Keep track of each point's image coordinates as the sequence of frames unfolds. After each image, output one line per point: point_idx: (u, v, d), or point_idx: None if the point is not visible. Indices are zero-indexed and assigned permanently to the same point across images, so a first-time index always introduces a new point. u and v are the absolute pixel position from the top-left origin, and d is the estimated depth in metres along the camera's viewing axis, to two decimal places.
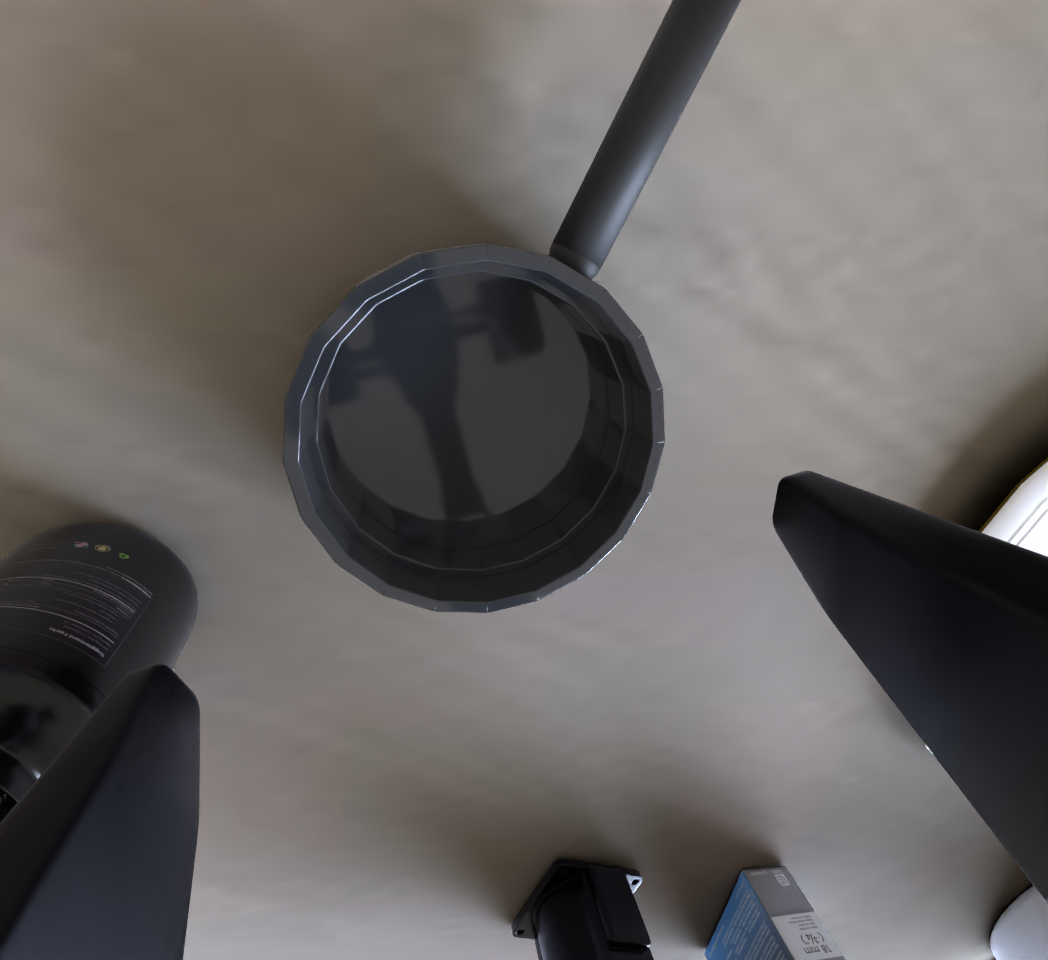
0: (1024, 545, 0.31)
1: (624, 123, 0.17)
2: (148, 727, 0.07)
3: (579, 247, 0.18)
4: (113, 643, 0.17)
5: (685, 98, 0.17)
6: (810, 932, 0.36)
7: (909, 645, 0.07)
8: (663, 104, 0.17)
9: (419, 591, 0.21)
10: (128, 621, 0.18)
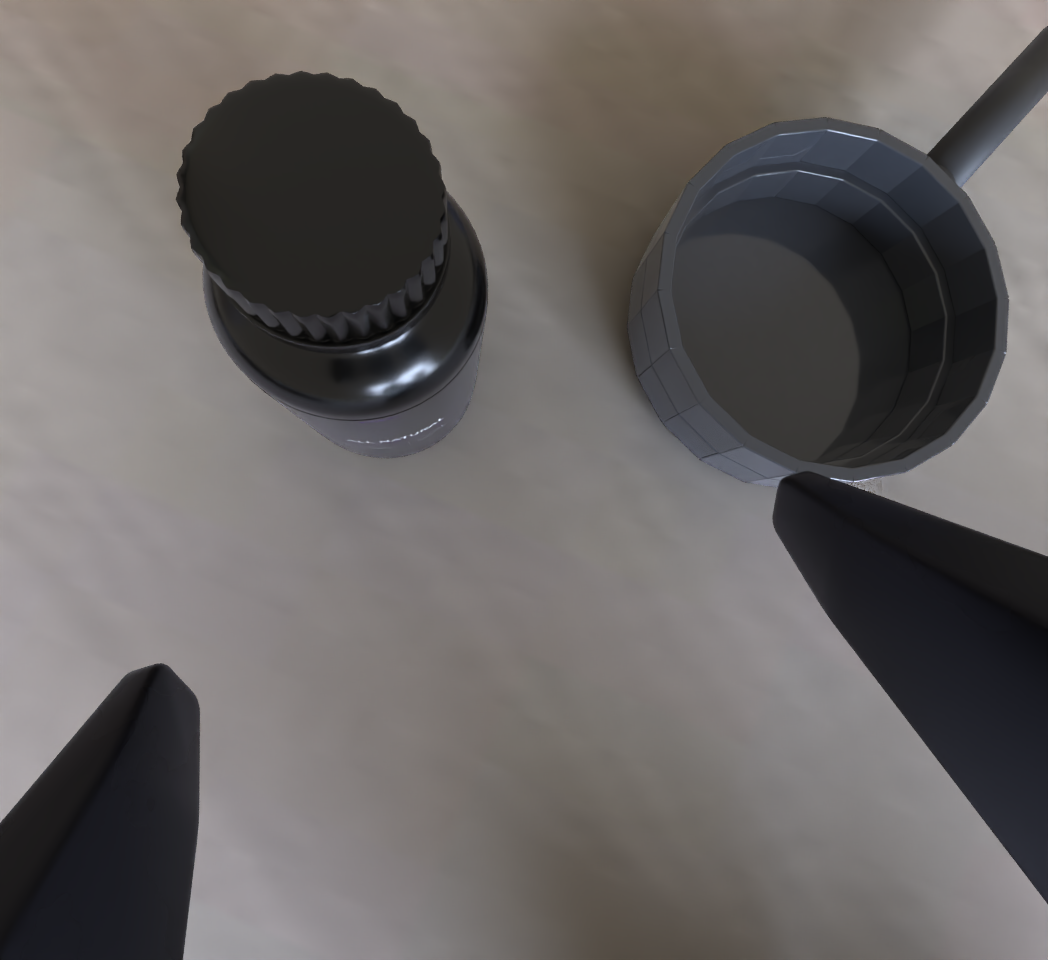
0: None
1: (988, 99, 0.22)
2: (148, 727, 0.07)
3: (946, 164, 0.21)
4: None
5: (1036, 96, 0.22)
6: None
7: (909, 645, 0.07)
8: (1023, 91, 0.22)
9: (731, 421, 0.19)
10: None
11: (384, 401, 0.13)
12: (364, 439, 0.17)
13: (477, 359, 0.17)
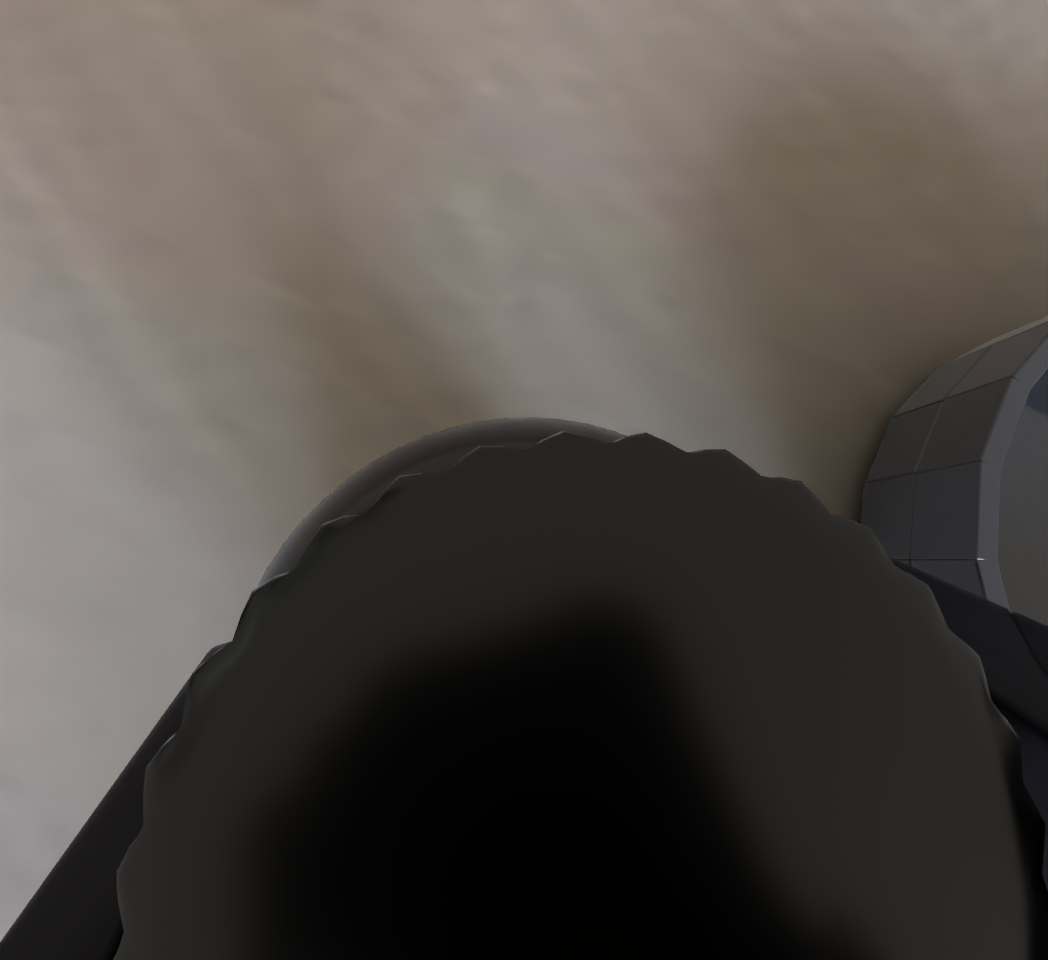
0: None
1: None
2: None
3: None
4: None
5: None
6: None
7: None
8: None
9: None
10: None
11: None
12: None
13: None
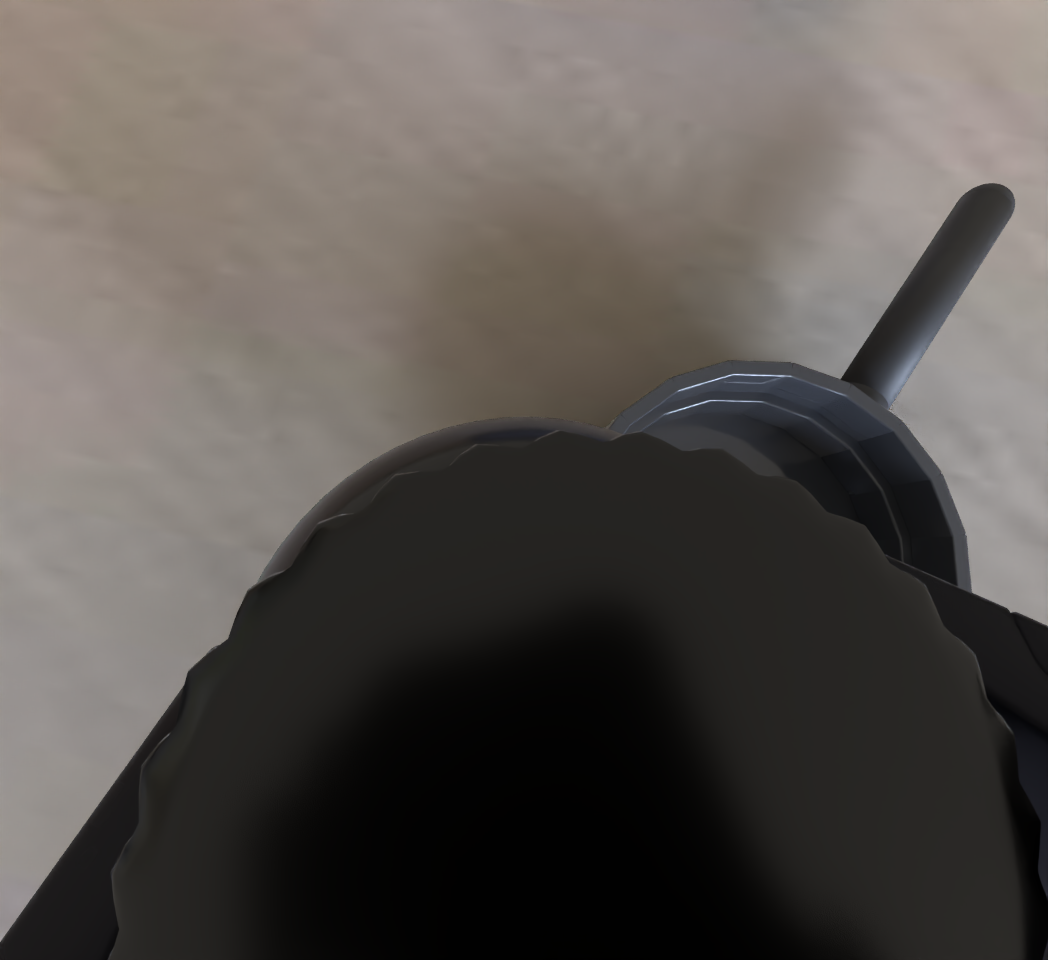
0: None
1: (911, 296, 0.20)
2: None
3: (873, 383, 0.19)
4: None
5: (965, 284, 0.20)
6: None
7: None
8: (948, 284, 0.19)
9: None
10: None
11: None
12: None
13: None
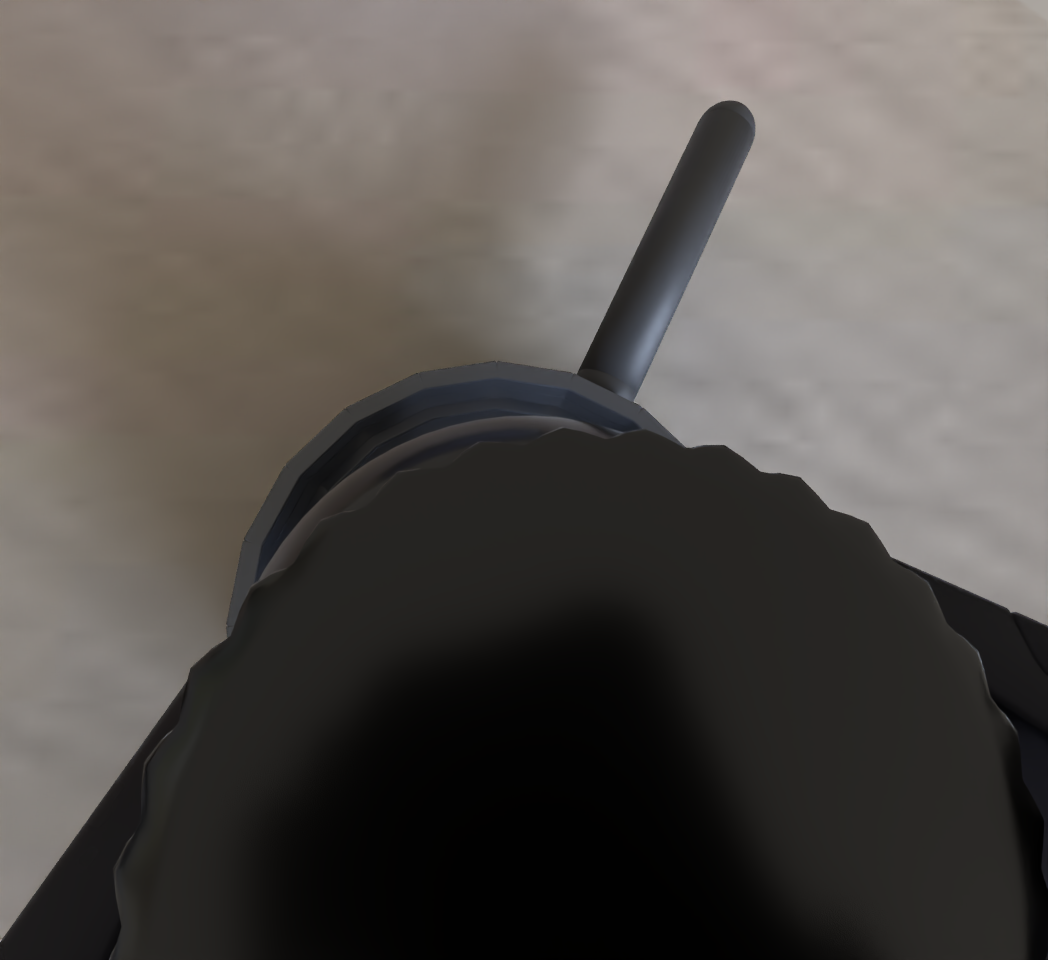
0: None
1: (644, 252, 0.16)
2: None
3: (606, 367, 0.16)
4: None
5: (705, 227, 0.16)
6: None
7: None
8: (682, 230, 0.16)
9: None
10: None
11: None
12: None
13: None
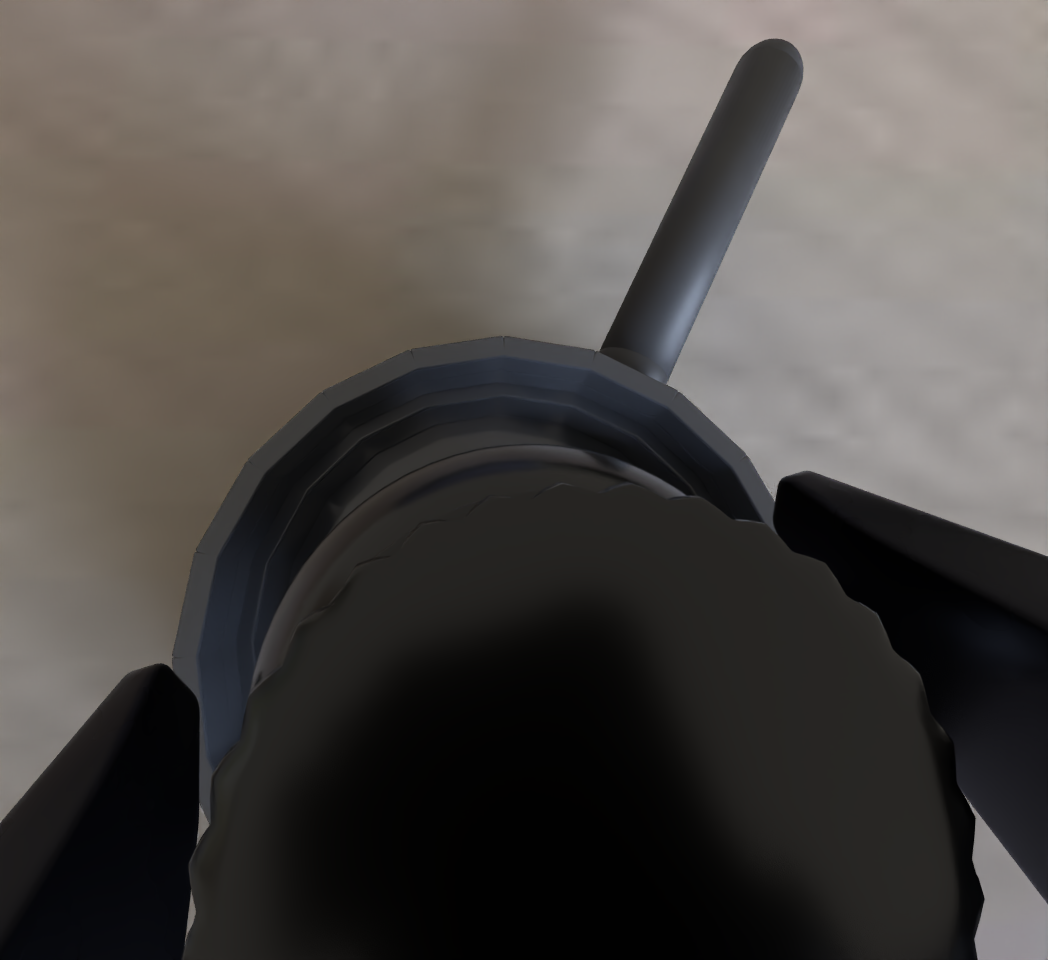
0: None
1: (676, 211, 0.14)
2: (148, 727, 0.07)
3: (634, 344, 0.13)
4: None
5: (748, 182, 0.14)
6: None
7: (909, 645, 0.07)
8: (722, 185, 0.14)
9: None
10: None
11: None
12: None
13: None
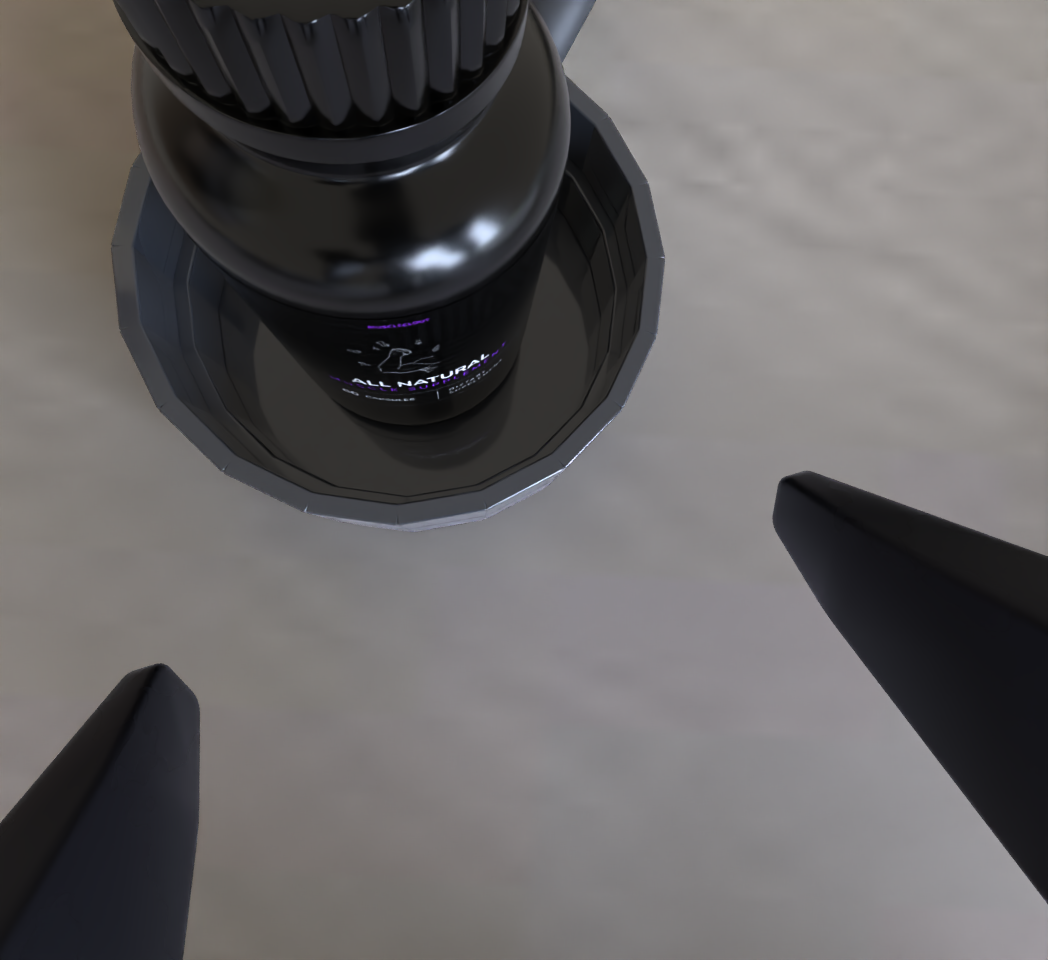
0: None
1: None
2: (148, 727, 0.07)
3: None
4: None
5: None
6: None
7: (909, 645, 0.07)
8: None
9: (288, 479, 0.13)
10: None
11: (407, 280, 0.08)
12: (376, 376, 0.12)
13: (540, 266, 0.12)
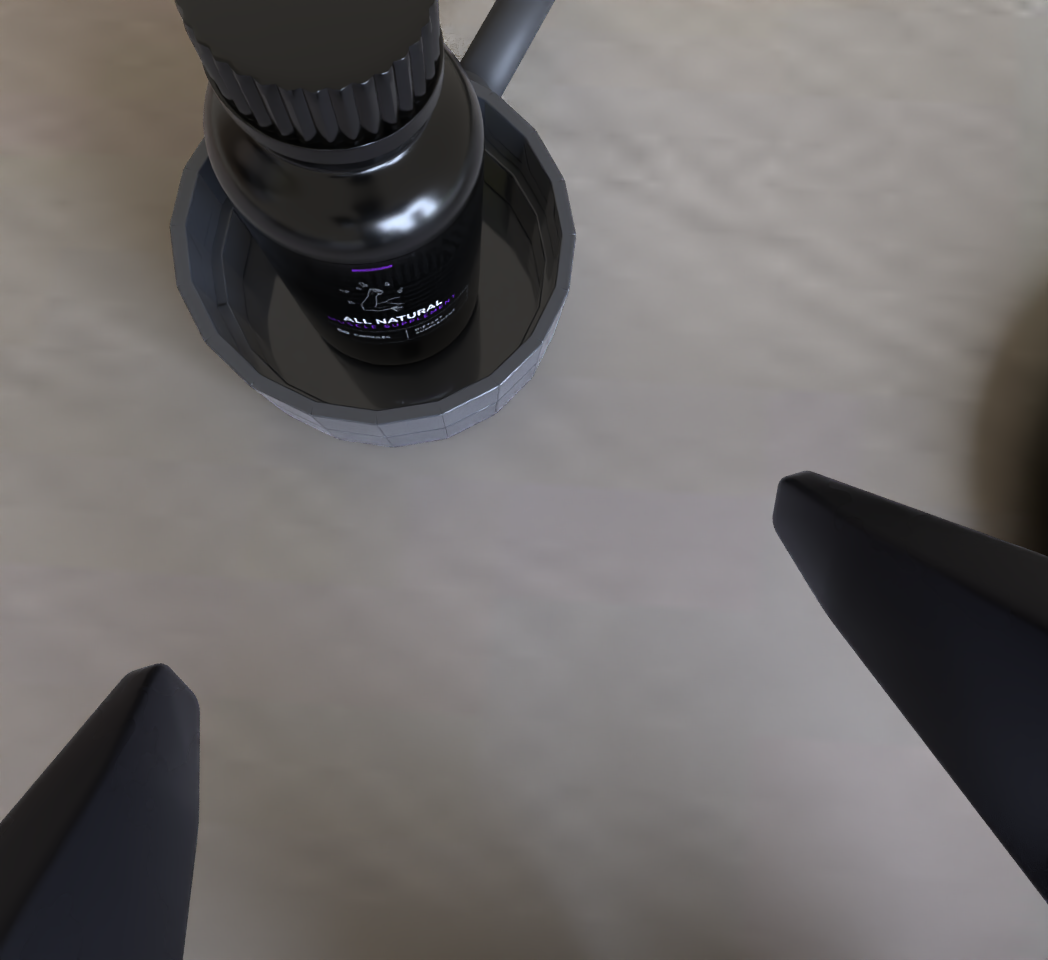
0: None
1: None
2: (148, 727, 0.07)
3: (468, 66, 0.20)
4: None
5: None
6: None
7: (909, 645, 0.07)
8: None
9: (298, 393, 0.18)
10: None
11: (376, 236, 0.13)
12: (360, 314, 0.17)
13: (475, 237, 0.17)
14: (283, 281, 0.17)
